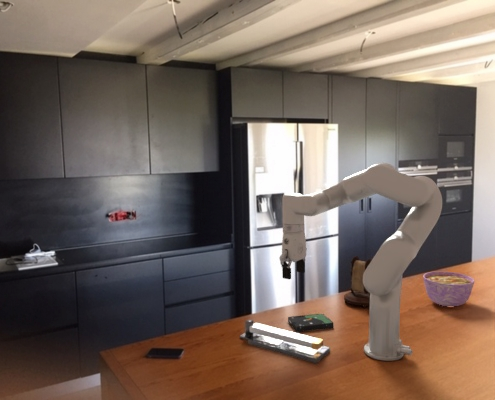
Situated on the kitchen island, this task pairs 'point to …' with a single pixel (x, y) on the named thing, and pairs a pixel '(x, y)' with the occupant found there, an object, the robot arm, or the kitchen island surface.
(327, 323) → the disk drive
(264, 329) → the swing bar
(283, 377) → the kitchen island surface
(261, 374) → the kitchen island surface
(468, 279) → the bowl of food
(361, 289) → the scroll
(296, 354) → the label panel
